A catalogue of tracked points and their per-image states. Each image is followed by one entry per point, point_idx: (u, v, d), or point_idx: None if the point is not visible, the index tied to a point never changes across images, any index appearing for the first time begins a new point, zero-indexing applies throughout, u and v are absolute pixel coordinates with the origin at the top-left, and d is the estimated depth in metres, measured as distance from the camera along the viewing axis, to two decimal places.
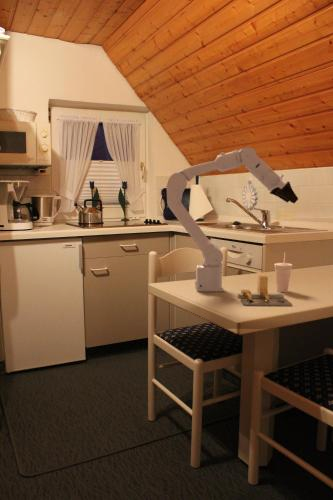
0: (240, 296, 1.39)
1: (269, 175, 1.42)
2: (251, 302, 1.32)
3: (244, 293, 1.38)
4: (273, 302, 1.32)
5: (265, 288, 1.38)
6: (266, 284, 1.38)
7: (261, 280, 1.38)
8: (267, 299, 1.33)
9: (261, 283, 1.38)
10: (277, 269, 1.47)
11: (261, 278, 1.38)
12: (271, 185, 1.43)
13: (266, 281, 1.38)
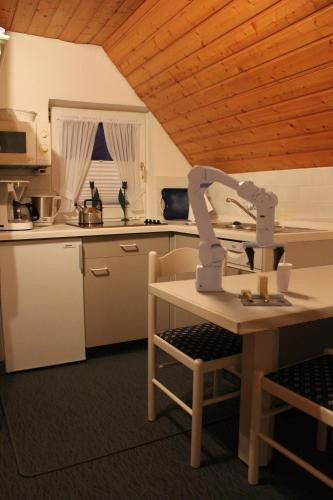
0: (240, 296, 1.39)
1: (256, 232, 1.36)
2: (251, 302, 1.32)
3: (244, 293, 1.38)
4: (273, 302, 1.32)
5: (265, 288, 1.38)
6: (266, 284, 1.38)
7: (261, 280, 1.38)
8: (267, 299, 1.33)
9: (261, 283, 1.38)
10: (277, 269, 1.47)
11: (261, 278, 1.38)
12: None
13: (266, 281, 1.38)
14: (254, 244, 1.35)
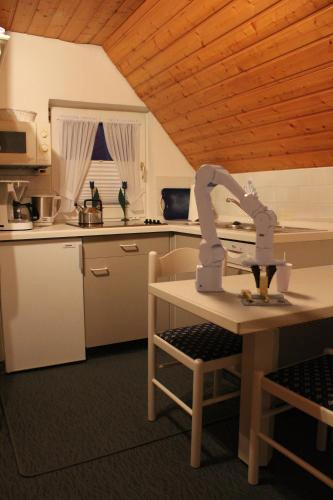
0: (240, 296, 1.39)
1: (255, 250, 1.37)
2: (251, 302, 1.32)
3: (244, 293, 1.38)
4: (273, 302, 1.32)
5: (265, 288, 1.38)
6: (266, 284, 1.38)
7: (261, 280, 1.38)
8: (267, 299, 1.33)
9: (261, 283, 1.38)
10: (277, 269, 1.47)
11: (261, 278, 1.38)
12: None
13: (266, 281, 1.38)
14: (253, 262, 1.36)
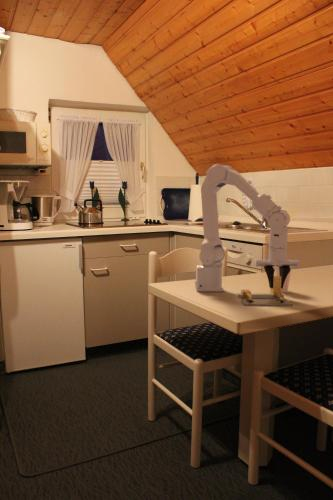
0: (240, 296, 1.39)
1: (269, 250, 1.37)
2: (251, 302, 1.32)
3: (244, 293, 1.38)
4: (273, 302, 1.32)
5: (279, 288, 1.38)
6: (280, 284, 1.38)
7: (275, 280, 1.38)
8: (281, 299, 1.33)
9: (275, 283, 1.38)
10: (277, 269, 1.47)
11: (275, 278, 1.38)
12: None
13: (280, 281, 1.38)
14: (267, 262, 1.36)
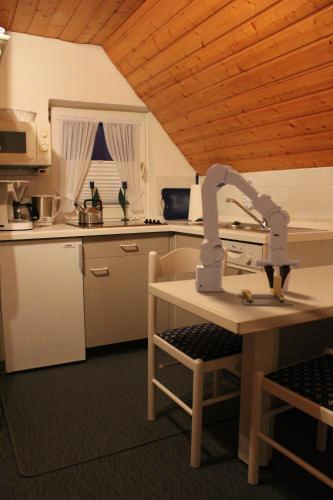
0: (240, 296, 1.39)
1: (269, 250, 1.37)
2: (251, 302, 1.32)
3: (244, 293, 1.38)
4: (273, 302, 1.32)
5: (279, 288, 1.38)
6: (280, 284, 1.38)
7: (275, 280, 1.38)
8: (281, 299, 1.33)
9: (275, 283, 1.38)
10: (277, 269, 1.47)
11: (275, 278, 1.38)
12: None
13: (280, 281, 1.38)
14: (267, 262, 1.36)
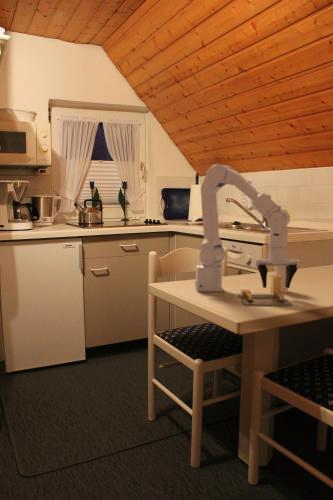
0: (240, 296, 1.39)
1: (269, 249, 1.37)
2: (251, 302, 1.32)
3: (244, 293, 1.38)
4: (273, 302, 1.32)
5: (279, 288, 1.38)
6: (280, 284, 1.38)
7: (275, 280, 1.38)
8: (281, 299, 1.33)
9: (275, 283, 1.38)
10: (277, 269, 1.47)
11: (275, 278, 1.38)
12: None
13: (280, 281, 1.38)
14: (267, 262, 1.36)
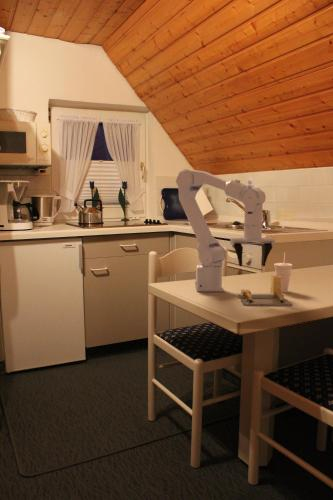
0: (240, 296, 1.39)
1: (244, 228, 1.38)
2: (251, 302, 1.32)
3: (244, 293, 1.38)
4: (273, 302, 1.32)
5: (279, 288, 1.38)
6: (280, 284, 1.38)
7: (275, 280, 1.38)
8: (281, 299, 1.33)
9: (275, 283, 1.38)
10: (277, 269, 1.47)
11: (275, 278, 1.38)
12: None
13: (280, 281, 1.38)
14: (242, 240, 1.37)
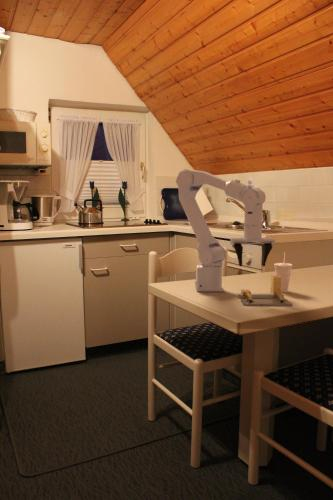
0: (240, 296, 1.39)
1: (244, 228, 1.38)
2: (251, 302, 1.32)
3: (244, 293, 1.38)
4: (273, 302, 1.32)
5: (279, 288, 1.38)
6: (280, 284, 1.38)
7: (275, 280, 1.38)
8: (281, 299, 1.33)
9: (275, 283, 1.38)
10: (277, 269, 1.47)
11: (275, 278, 1.38)
12: None
13: (280, 281, 1.38)
14: (242, 240, 1.37)
